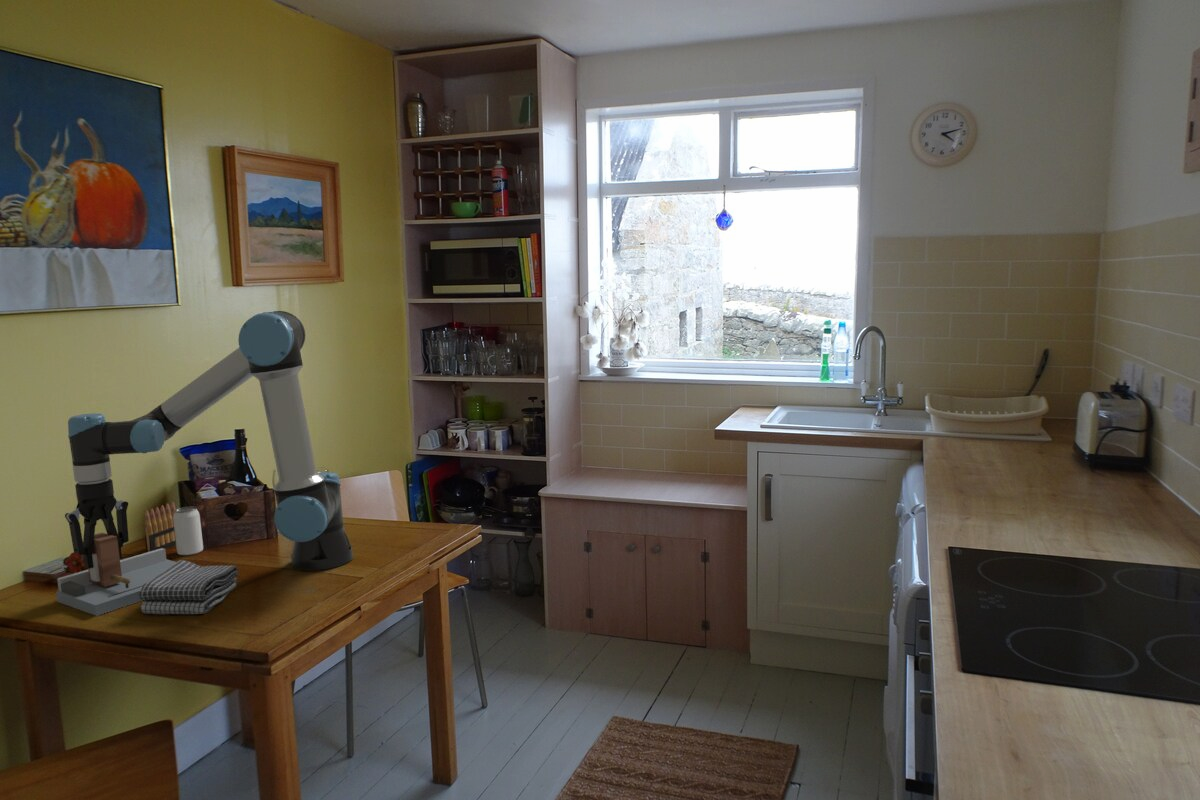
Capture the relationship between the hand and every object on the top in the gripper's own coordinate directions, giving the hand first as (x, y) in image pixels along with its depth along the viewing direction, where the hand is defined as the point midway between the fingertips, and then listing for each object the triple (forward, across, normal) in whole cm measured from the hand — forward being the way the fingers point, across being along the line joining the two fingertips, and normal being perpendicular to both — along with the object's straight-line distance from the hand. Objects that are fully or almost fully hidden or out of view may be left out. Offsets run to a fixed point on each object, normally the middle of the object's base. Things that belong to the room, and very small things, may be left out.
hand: (105, 577), depth 204 cm
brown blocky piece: (+1, 0, +3) cm, 3 cm away
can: (+4, -28, -13) cm, 32 cm away
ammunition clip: (+4, -27, -24) cm, 37 cm away
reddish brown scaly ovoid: (+4, -4, -19) cm, 20 cm away
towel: (+5, -7, +23) cm, 25 cm away
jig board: (+4, -4, +3) cm, 7 cm away
